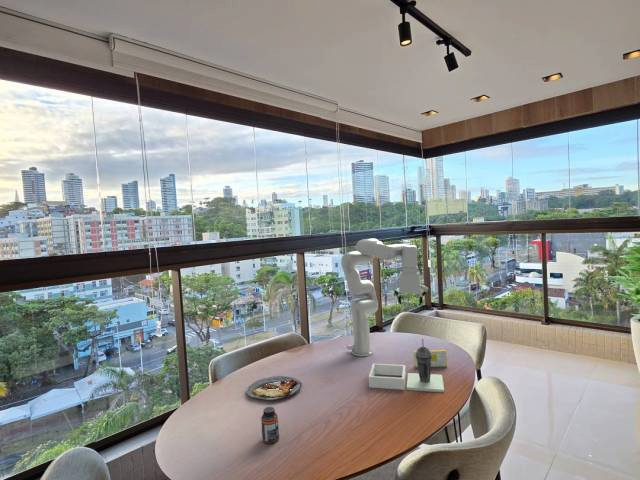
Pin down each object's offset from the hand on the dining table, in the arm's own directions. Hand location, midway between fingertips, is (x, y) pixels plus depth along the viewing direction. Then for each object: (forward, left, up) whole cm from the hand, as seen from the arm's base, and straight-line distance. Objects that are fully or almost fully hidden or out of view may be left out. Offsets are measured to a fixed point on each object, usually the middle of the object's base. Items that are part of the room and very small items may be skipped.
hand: (410, 304), depth 179 cm
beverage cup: (+5, -11, -34) cm, 36 cm away
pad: (+5, -11, -35) cm, 37 cm away
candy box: (+8, +10, -35) cm, 37 cm away
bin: (-12, -11, -35) cm, 38 cm away
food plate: (-63, -29, -35) cm, 77 cm away
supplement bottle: (-49, -66, -35) cm, 89 cm away
